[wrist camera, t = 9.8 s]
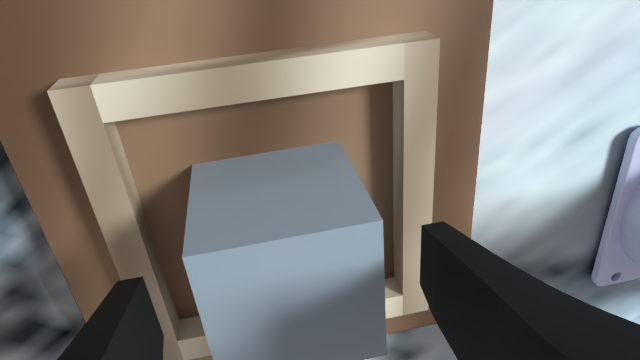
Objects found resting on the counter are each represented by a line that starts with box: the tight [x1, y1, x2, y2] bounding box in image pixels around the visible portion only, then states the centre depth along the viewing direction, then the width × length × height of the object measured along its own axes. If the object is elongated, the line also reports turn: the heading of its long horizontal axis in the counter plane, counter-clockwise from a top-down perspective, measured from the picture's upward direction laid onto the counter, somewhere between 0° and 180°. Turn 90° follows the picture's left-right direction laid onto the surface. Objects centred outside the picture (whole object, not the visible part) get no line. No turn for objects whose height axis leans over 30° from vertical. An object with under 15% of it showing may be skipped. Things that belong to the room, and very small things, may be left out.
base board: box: [0, 0, 493, 360], centre depth 15 cm, size 14×14×2 cm
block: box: [182, 141, 387, 360], centre depth 13 cm, size 4×4×4 cm
